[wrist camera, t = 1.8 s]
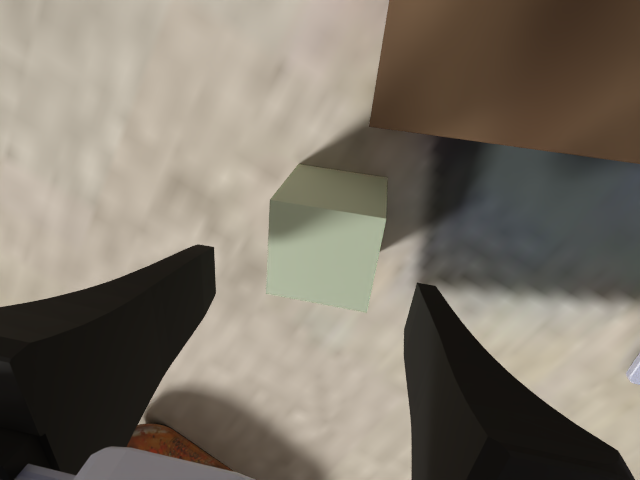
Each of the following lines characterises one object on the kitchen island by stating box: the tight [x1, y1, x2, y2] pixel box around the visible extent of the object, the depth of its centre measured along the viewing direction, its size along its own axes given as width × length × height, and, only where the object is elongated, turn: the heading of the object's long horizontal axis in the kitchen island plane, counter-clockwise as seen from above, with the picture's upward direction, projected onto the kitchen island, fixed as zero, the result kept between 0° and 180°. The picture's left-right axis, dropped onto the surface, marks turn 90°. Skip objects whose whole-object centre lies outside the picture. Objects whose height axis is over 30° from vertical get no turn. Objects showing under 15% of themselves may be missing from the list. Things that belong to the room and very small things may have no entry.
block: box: [266, 164, 387, 313], centre depth 17 cm, size 4×4×5 cm
